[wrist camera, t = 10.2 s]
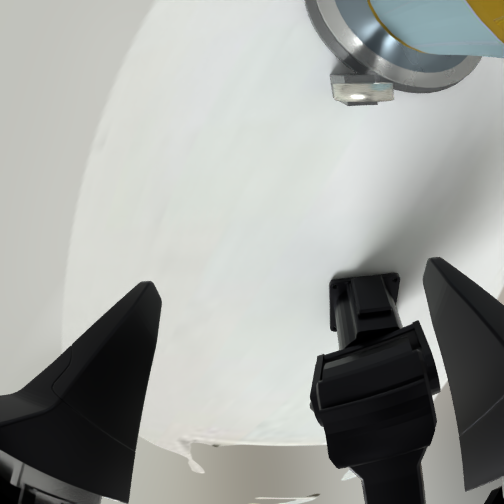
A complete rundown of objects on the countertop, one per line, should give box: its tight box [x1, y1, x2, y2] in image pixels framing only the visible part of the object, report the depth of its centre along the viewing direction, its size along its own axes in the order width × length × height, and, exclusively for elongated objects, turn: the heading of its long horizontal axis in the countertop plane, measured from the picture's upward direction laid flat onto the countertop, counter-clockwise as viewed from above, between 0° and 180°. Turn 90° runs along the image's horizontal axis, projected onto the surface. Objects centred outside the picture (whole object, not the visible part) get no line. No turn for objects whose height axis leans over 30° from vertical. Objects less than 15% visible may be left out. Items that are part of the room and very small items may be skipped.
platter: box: [315, 0, 482, 88], centre depth 11 cm, size 12×12×1 cm
